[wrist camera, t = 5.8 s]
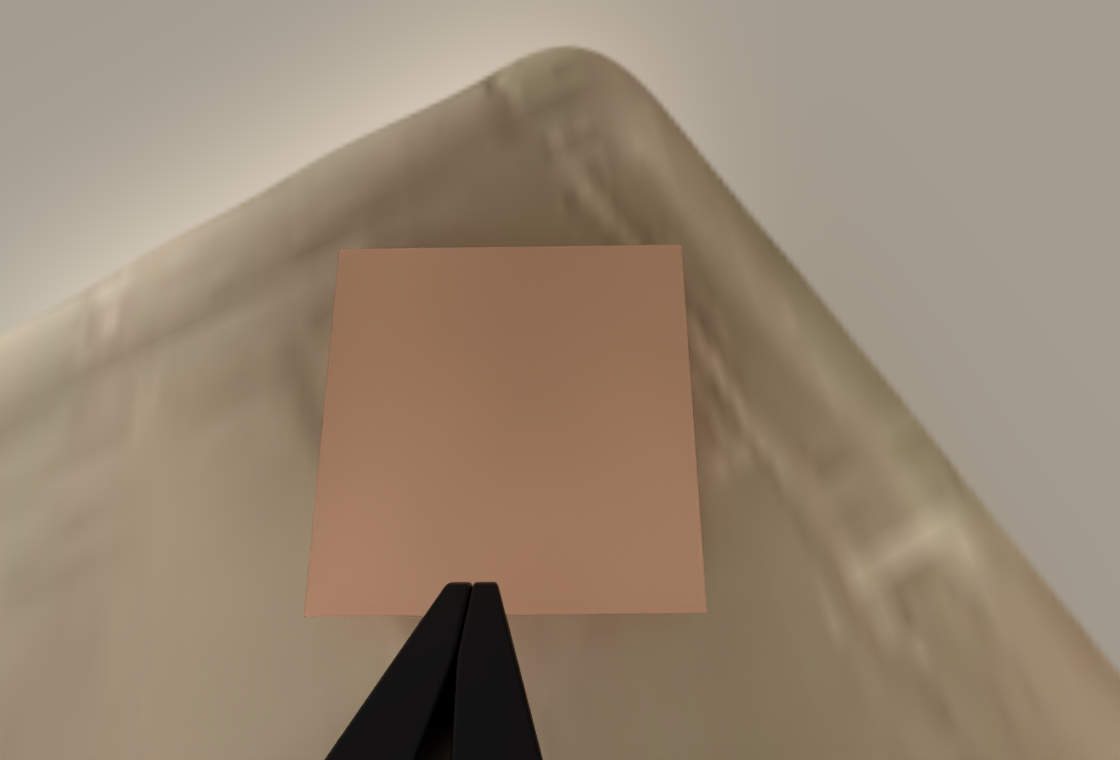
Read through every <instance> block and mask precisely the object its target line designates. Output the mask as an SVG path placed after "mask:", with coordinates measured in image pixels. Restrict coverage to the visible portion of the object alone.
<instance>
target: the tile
mask: <svg viewBox="0 0 1120 760" xmlns="http://www.w3.org/2000/svg"><path fill="white" fill-rule="evenodd" d="M450 582H470V583H472V585H473V584H474V583H475V582H496V583H497V584H498V586H499V589H500V593H501V597H502V601H503V605H504V609H505V613H506V615H536V614H647V613H707V605H706V591H705V577H704V562H703V548H702V533H701V519H700V505H699V490H698V476H697V462H696V447H695V433H694V418H693V404H692V390H691V375H690V361H689V347H688V332H687V318H686V303H685V289H684V275H683V260H682V246H681V244H674V245H599V246H524V247H449V248H374V249H339V256H338V267H337V277H336V288H335V298H334V309H333V319H332V329H331V340H330V350H329V361H328V371H327V382H326V392H325V403H324V413H323V424H322V434H321V445H320V455H319V466H318V476H317V486H316V497H315V507H314V518H313V528H312V539H311V549H310V560H309V570H308V581H307V591H306V602H305V612H304V617H315V616H424V615H425V614H426V612H427V611H428V610H429V608H430V607H431V605H432V604H433V602H434V601H435V599H436V598H437V597H438V595H439V594H440V592H441V591H442V589H443V588H444V587H445V585H446V584H448V583H450Z"/></svg>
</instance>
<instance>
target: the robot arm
mask: <svg viewBox="0 0 1120 760" xmlns="http://www.w3.org/2000/svg"><path fill="white" fill-rule="evenodd" d="M325 760H543V758H542V754H541V750H540V746H539V743H538V739H537V735H536V731H535V727H534V723H533V719H532V715H531V711H530V707H529V703H528V699H527V695H526V692H525V688H524V684H523V680H522V676H521V672H520V668H519V664H518V660H517V656H516V652H515V648H514V644H513V640H512V637H511V633H510V629H509V625H508V621H507V617H506V613H505V609H504V605H503V601H502V597H501V593H500V589H499V586H498V584H497V583H496V582H475V583H474V584H473V585H472V583H470V582H450V583H448V584H446V585H445V587H444V588H443V589H442V591H441V592H440V594H439V595H438V597H437V598H436V599H435V601H434V602H433V604H432V605H431V607H430V608H429V610H428V611H427V612H426V614H425V615H424V617H423V618H422V620H421V621H420V623H419V624H418V625H417V627H416V628H415V630H414V631H413V633H412V634H411V636H410V637H409V638H408V640H407V641H406V643H405V644H404V646H403V647H402V649H401V650H400V651H399V653H398V654H397V656H396V657H395V659H394V660H393V662H392V663H391V664H390V666H389V667H388V669H387V670H386V672H385V673H384V675H383V676H382V677H381V679H380V680H379V682H378V683H377V685H376V686H375V687H374V689H373V690H372V692H371V693H370V695H369V696H368V698H367V699H366V700H365V702H364V703H363V705H362V706H361V708H360V709H359V711H358V712H357V713H356V715H355V716H354V718H353V719H352V721H351V722H350V724H349V725H348V726H347V728H346V729H345V731H344V732H343V734H342V735H341V737H340V738H339V739H338V741H337V742H336V744H335V745H334V747H333V748H332V750H331V751H330V752H329V754H328V755H327V757H326V758H325Z"/></svg>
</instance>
